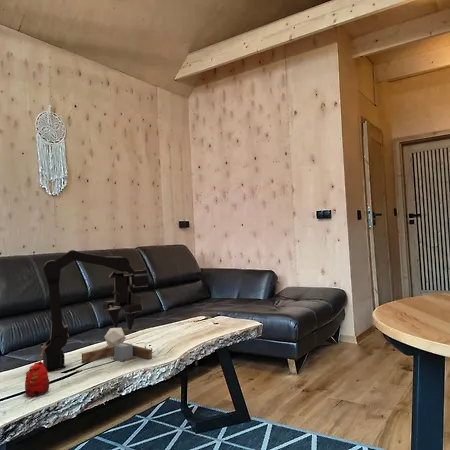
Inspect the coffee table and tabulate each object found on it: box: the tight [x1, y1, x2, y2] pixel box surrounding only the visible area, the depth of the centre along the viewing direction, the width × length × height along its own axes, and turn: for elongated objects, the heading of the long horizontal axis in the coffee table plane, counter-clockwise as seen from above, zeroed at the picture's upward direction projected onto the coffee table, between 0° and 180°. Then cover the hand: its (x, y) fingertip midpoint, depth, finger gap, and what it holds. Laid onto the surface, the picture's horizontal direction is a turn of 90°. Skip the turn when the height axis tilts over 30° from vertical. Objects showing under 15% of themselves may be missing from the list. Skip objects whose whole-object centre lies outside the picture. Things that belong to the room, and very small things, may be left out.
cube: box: [113, 342, 133, 360], centre depth 164 cm, size 5×5×5 cm
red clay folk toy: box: [24, 342, 50, 397], centre depth 129 cm, size 8×7×15 cm
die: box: [104, 327, 127, 347], centre depth 183 cm, size 8×9×10 cm
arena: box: [81, 344, 153, 364], centre depth 160 cm, size 19×19×4 cm
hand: (123, 328), depth 164 cm, fingers open, 9 cm apart
